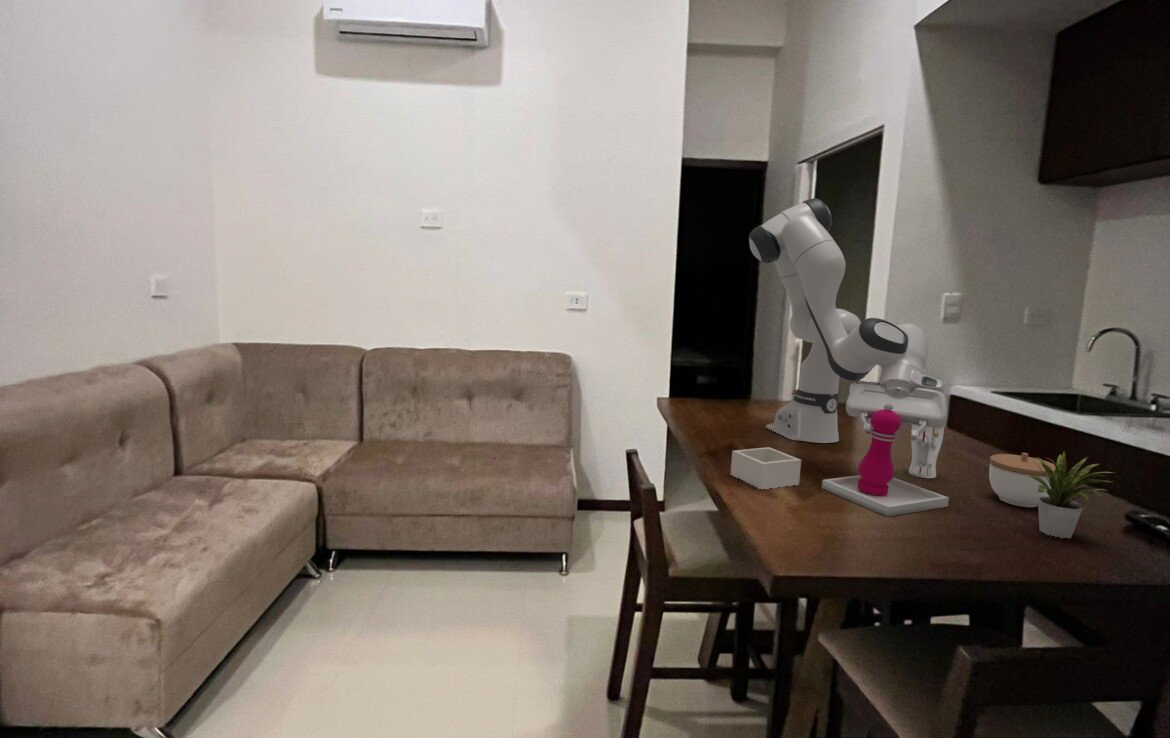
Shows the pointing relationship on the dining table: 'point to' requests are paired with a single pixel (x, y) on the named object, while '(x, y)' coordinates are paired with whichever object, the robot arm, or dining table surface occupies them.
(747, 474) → the open rectangular box
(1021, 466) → the lidded bowl
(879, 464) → the pepper mill
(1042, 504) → the house plant
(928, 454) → the beer glass
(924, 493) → the tray
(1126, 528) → the dining table surface
